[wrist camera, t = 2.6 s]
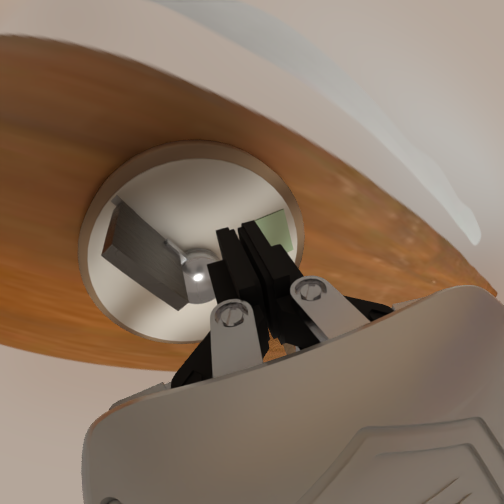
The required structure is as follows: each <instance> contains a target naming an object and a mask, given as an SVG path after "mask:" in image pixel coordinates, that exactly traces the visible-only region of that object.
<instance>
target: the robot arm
mask: <svg viewBox="0 0 504 504" xmlns="http://www.w3.org/2000/svg"><path fill="white" fill-rule="evenodd" d="M237 229H238V235H239V238H238V236H237V234H236V232H235V230H234V229H232V230H229V228H228V227H226V228H222V229H219V230H216V235H217V239H218V243H219V247H220V252H221V256H222V260H220V261H217V262H213V263H210V264H207V268H208V272H209V276H210V279H211V283H212V287H213V290H214V294H215V297H216V301H217V306H216V307H214V308H213V310H212V312H211V315H210V331H209V333H208V334H207V335H206V336H205V338H204V339H203V340H202V341H201V343H200V344H199V345H198V346H197V348H196V349H195V350H194V351H193V353H192V354H191V355H190V356H189V358H188V359H187V360H186V361H185V363H184V364H183V365H182V366H181V368H180V369H179V370H178V371H177V373H176V374H175V376H174V377H173V379H172V381H171V382H169V383H168V384H164V383H163V382H162V383H160V384H157V385H155V386H153V387H151V388H148V389H146V390H144V391H142V392H139V393H137V394H134V395H132V396H129V397H127V398H125V399H122V400H119V401H118V402H116V403H114V404H113V405H112V406H111V408H110V409H109V411H108V412H106V413H104V414H103V415H101V416H100V417H99V418H97V419H96V420H95V421H94V422H93V423H92V424H91V426H90V427H89V429H88V431H87V433H86V435H85V439H84V444H83V451H82V490H83V500H84V504H504V305H503V304H502V303H501V302H500V301H499V300H498V299H497V298H495V297H494V296H493V295H492V294H490V293H489V292H488V291H486V290H485V289H483V288H481V287H478V286H473V285H463V286H455V287H451V288H447V289H443V290H441V291H438V292H435V293H433V294H431V295H428V296H426V297H423V298H419V299H415V300H410V301H406V302H402V303H397V304H393V305H392V308H390V307H388V306H386V305H383V304H379V303H374V302H370V301H365V300H361V299H356V298H352V297H347V296H343V295H342V294H341V293H340V292H338V291H337V290H336V289H335V288H334V287H333V286H332V285H331V284H330V283H329V282H328V281H326V280H325V279H323V278H321V277H318V276H305V277H304V276H303V275H302V273H301V272H300V270H299V269H298V267H297V266H296V265H295V263H294V262H293V260H292V259H291V258H290V256H289V255H288V253H287V252H286V250H285V249H284V248H283V246H282V245H281V244H277V245H274V246H271V245H270V243H269V242H268V240H267V239H266V237H265V236H264V234H263V233H262V231H261V230H260V228H259V227H258V225H257V224H256V222H255V221H254V220H252V221H249V222H245V223H241V227H239V228H237ZM268 328H269V331H270V333H271V335H272V337H273V339H275V338H278V339H279V341H280V343H281V345H282V344H285V343H287V344H291V345H294V349H295V352H294V353H291V354H289V355H286V356H283V357H280V358H277V359H274V360H271V361H268V362H265V363H263V358H264V356H265V354H266V353H267V351H268V349H269V343H268V341H269V340H270V338H269V331H268Z"/></svg>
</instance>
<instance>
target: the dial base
mask: <svg viewBox="0 0 504 504" xmlns="http://www.w3.org/2000/svg"><path fill="white" fill-rule="evenodd" d="M121 201H123V202H124V203H125V204H126V205H128V206H129V207H130V208H131V209H132V210H133V211H134V212H135V213H136V214H138V215H139V216H140V217H141V218H142V219H143V220H144V221H145V222H147V223H148V224H149V225H150V226H151V227H152V228H153V229H155V230H156V231H157V232H158V233H159V234H160V235H161V236H163V237H164V238H165V239H167V238H168V239H169V240H170V241H171V242H172V243H174V244H175V245H176V246H177V247H178V248H179V249H181V250H182V251H183V252H185V251H187V250H190V249H194V248H203V249H207V250H210V251H212V252H213V253H215V254H216V255H217V256H218V258H219V259H220V260H222V256H221V252H220V247H219V243H218V239H217V235H216V230H219V229H222V228H226V227H228V228H229V230H232V229H234V230H235V232H236V234H237V236H238V238H239V235H238V229H237V228H239V227H241V223H245V222H249V221H252V220H254V221H255V222H256V224H257V225H258V227H259V228H260V230H261V231H262V233H263V234H264V236H265V237H266V239H267V240H268V242H269V243H270V245H271V246H274V245H277V244H281V245H282V246H283V248H284V249H285V250H286V252H287V253H288V255H289V256H290V258H291V259H292V260H293V262H294V263H295V265H296V266H297V267H298V268H299V265H300V262H301V259H302V254H303V250H304V238H305V235H304V223H303V219H302V215H301V211H300V208H299V206H298V203H297V201H296V199H295V197H294V195H293V194H292V192H291V190H290V189H289V187H288V186H287V185H286V184H285V182H284V181H283V180H282V179H281V178H280V177H279V176H278V175H277V174H276V173H275V172H274V171H272V170H271V169H270V168H269V167H268V166H266V165H265V164H264V163H263V162H261V161H260V160H259V159H257V158H256V157H254V156H252V155H251V154H249V153H247V152H246V151H243V150H241V149H239V148H237V147H234V146H232V145H228V144H224V143H221V142H217V141H209V140H180V141H175V142H169V143H165V144H161V145H158V146H155V147H152V148H150V149H147V150H145V151H143V152H141V153H139V154H137V155H135V156H134V157H132V158H131V159H129V160H128V161H126V162H125V163H123V164H122V165H121V166H120V167H119V168H117V169H116V170H115V171H114V172H113V173H112V174H111V175H110V176H109V177H108V178H107V180H106V181H105V182H104V183H103V185H102V186H101V187H100V188H99V190H98V192H97V194H96V195H95V197H94V199H93V201H92V202H91V204H90V207H89V209H88V211H87V213H86V215H85V218H84V221H83V224H82V226H81V230H80V235H79V241H78V262H79V270H80V273H81V277H82V280H83V283H84V285H85V287H86V290H87V292H88V294H89V295H90V297H91V299H92V300H93V302H94V303H95V305H96V306H97V307H98V308H99V309H100V310H101V311H102V313H103V314H104V315H106V316H107V317H108V318H109V319H110V320H111V321H112V322H114V323H115V324H117V325H118V326H120V327H121V328H123V329H125V330H127V331H129V332H131V333H132V334H135V335H137V336H140V337H143V338H146V339H149V340H153V341H158V342H164V343H174V344H188V343H199V342H201V341H202V340H203V339H204V338H205V336H206V335H207V334H208V333H209V331H210V315H211V312H212V310H213V308H214V307H216V306H217V301H216V298H215V299H214V300H212V301H210V302H207V303H203V304H190V303H188V304H187V305H185V306H184V307H183V308H182V309H180V310H179V311H177V310H176V309H174V308H173V307H171V306H170V305H168V304H167V303H165V302H164V301H162V300H161V299H159V298H158V297H156V296H155V295H154V294H152V293H151V292H149V291H148V290H146V289H145V288H144V287H142V286H141V285H139V284H138V283H137V282H135V281H134V280H132V279H131V278H130V277H128V276H127V275H126V274H124V273H123V272H122V271H120V270H119V269H118V268H116V267H115V266H114V265H112V264H111V263H110V262H108V261H107V260H106V259H104V258H103V257H102V256H101V254H102V250H103V246H104V242H105V238H106V234H107V230H108V227H109V223H110V219H111V216H112V213H113V210H114V209H115V207H116V206H117V205H118V204H119V203H120V202H121Z"/></svg>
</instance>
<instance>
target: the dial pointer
mask: <svg viewBox="0 0 504 504" xmlns="http://www.w3.org/2000/svg"><path fill="white" fill-rule="evenodd" d="M101 256H102V257H103V258H104V259H106V260H107V261H108V262H110V263H111V264H112V265H114V266H115V267H116V268H118V269H119V270H120V271H122V272H123V273H124V274H126V275H127V276H128V277H130V278H131V279H132V280H134V281H135V282H137V283H138V284H139V285H141V286H142V287H144V288H145V289H146V290H148V291H149V292H151V293H152V294H154V295H155V296H156V297H158V298H159V299H161V300H162V301H164V302H165V303H167V304H168V305H170V306H171V307H173V308H174V309H176V310H177V311H179V310H180V309H182V308H183V307H184V306H185V305H187V304H188V303H190V304H203V303H207V302H210V301H212V300H214V299H215V298H216V297H215V294H214V290H213V287H212V283H211V279H210V276H209V272H208V268H207V264H210V263H213V262H217V261H220V259H219V258H218V256H217V255H216V254H215V253H213V252H212V251H210V250H207V249H203V248H194V249H190V250H187V251H185V252H183V251H182V250H181V249H179V248H178V247H177V246H176V245H175V244H174V243H172V242H171V241H170V240H169V239H168V238H167V239H165V238H164V237H163V236H161V235H160V234H159V233H158V232H157V231H156V230H155V229H153V228H152V227H151V226H150V225H149V224H148V223H147V222H145V221H144V220H143V219H142V218H141V217H140V216H139V215H138V214H136V213H135V212H134V211H133V210H132V209H131V208H130V207H129V206H128V205H126V204H125V203H124V202H123V201H121V202H120V203H119V204H118V205H117V206H116V207H115V209H114V210H113V213H112V216H111V219H110V223H109V227H108V230H107V234H106V238H105V242H104V246H103V250H102V254H101Z"/></svg>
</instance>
